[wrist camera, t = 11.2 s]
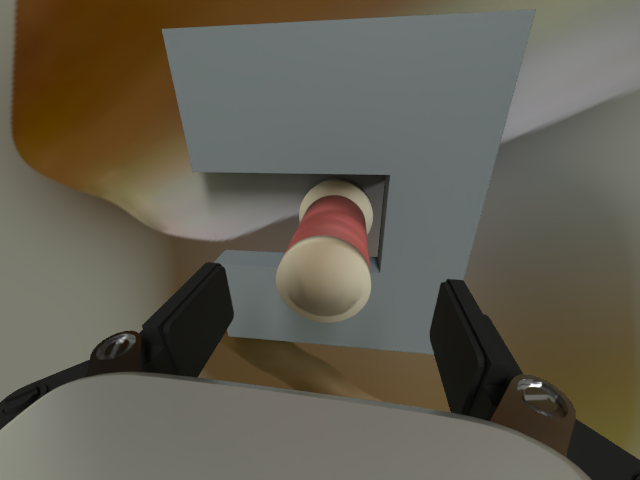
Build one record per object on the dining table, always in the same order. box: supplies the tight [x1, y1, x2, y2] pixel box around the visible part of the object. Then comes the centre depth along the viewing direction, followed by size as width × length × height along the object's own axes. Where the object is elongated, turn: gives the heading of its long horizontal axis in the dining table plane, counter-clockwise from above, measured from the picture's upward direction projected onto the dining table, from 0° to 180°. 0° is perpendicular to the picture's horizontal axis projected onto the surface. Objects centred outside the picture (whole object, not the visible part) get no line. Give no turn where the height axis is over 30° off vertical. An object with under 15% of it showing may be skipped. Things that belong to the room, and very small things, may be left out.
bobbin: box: [276, 178, 373, 323], centre depth 17 cm, size 6×6×10 cm
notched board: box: [162, 9, 536, 354], centre depth 21 cm, size 20×24×2 cm
